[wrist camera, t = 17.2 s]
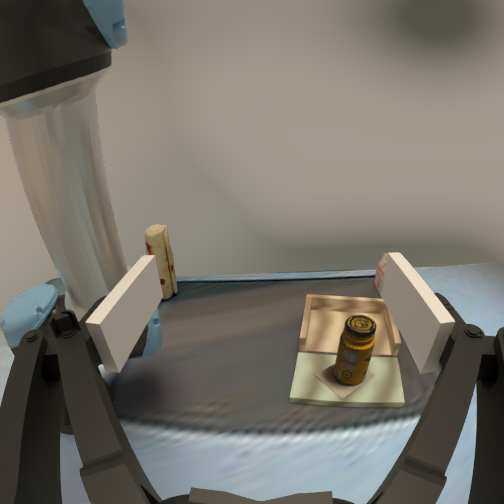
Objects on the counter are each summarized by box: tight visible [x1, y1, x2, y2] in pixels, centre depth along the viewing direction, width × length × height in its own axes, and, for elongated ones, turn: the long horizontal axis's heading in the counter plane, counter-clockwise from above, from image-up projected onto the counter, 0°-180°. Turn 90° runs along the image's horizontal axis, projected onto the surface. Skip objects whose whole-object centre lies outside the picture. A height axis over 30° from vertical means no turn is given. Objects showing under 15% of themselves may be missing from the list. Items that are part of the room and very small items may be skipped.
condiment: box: [315, 315, 377, 399], centre depth 46 cm, size 7×8×12 cm
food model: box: [145, 224, 177, 299], centre depth 76 cm, size 10×7×20 cm
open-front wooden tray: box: [289, 294, 404, 408], centre depth 55 cm, size 20×28×5 cm
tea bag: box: [374, 253, 387, 296], centre depth 75 cm, size 4×7×10 cm, turn 172°
